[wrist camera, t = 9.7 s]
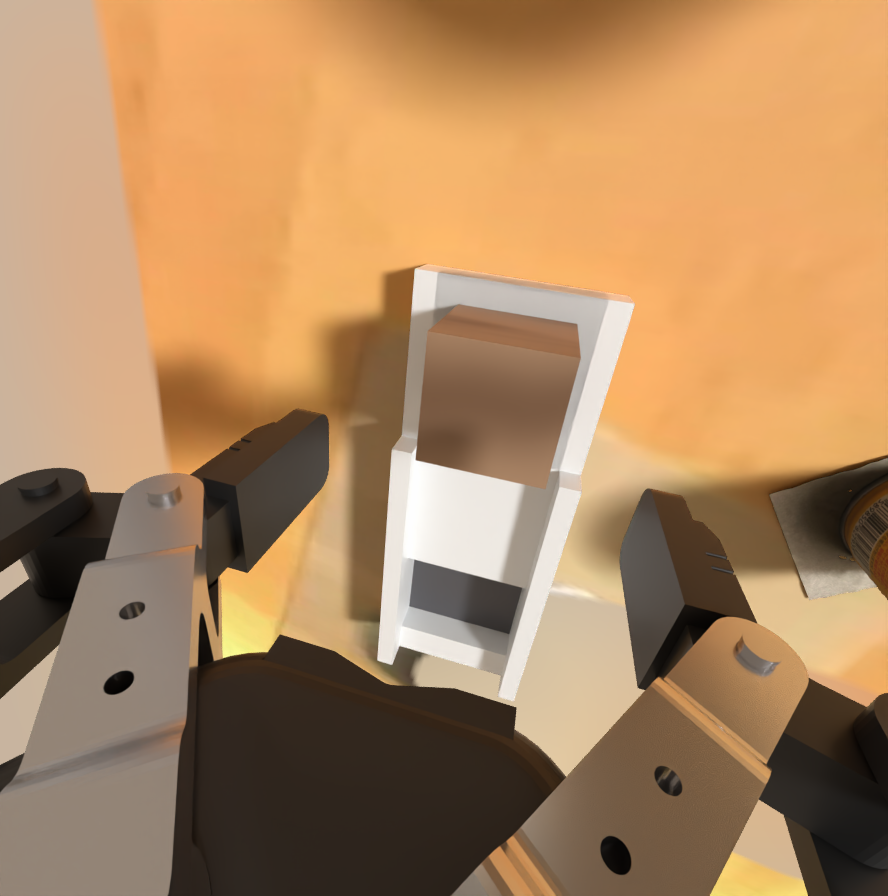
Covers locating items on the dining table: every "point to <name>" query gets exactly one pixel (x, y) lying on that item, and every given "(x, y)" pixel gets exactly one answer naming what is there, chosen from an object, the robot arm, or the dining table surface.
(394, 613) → the channel
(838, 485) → the condiment
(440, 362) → the walnut block
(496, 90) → the dining table surface
